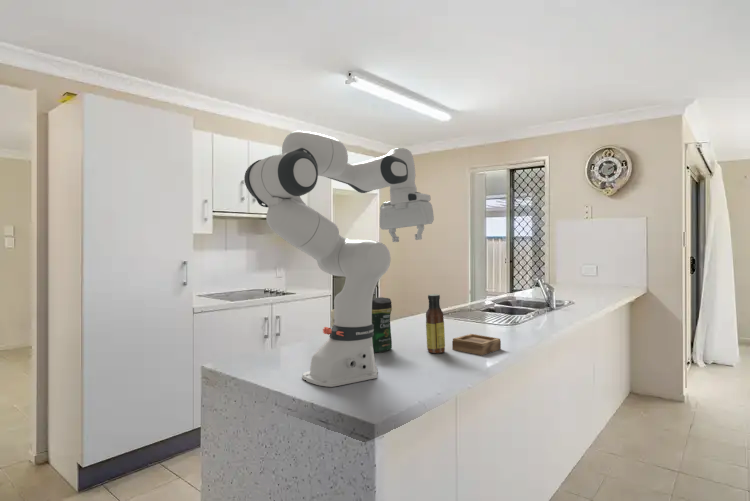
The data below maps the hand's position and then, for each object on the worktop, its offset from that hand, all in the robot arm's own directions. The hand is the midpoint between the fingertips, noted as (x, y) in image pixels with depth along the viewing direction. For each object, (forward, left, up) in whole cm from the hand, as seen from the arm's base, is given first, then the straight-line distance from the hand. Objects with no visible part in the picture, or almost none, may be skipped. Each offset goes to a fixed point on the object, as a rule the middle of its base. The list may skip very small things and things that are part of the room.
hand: (407, 240), depth 151 cm
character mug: (-3, +30, -39) cm, 49 cm away
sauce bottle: (+13, -2, -39) cm, 41 cm away
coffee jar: (+1, +14, -39) cm, 41 cm away
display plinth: (+26, -10, -39) cm, 47 cm away
